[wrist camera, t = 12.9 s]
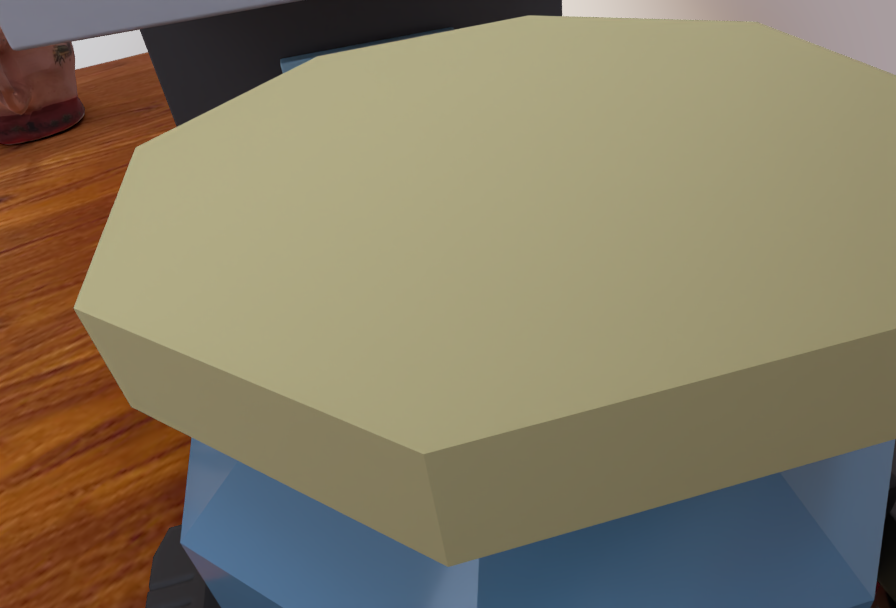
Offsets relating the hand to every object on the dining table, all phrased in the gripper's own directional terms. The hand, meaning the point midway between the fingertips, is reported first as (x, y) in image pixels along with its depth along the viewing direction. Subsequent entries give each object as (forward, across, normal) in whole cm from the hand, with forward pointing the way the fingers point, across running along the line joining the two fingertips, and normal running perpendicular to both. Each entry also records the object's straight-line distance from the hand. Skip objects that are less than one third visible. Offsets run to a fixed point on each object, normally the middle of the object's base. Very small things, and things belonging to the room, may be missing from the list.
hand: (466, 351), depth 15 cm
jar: (-5, 0, -8) cm, 9 cm away
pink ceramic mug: (+65, -32, -13) cm, 74 cm away
